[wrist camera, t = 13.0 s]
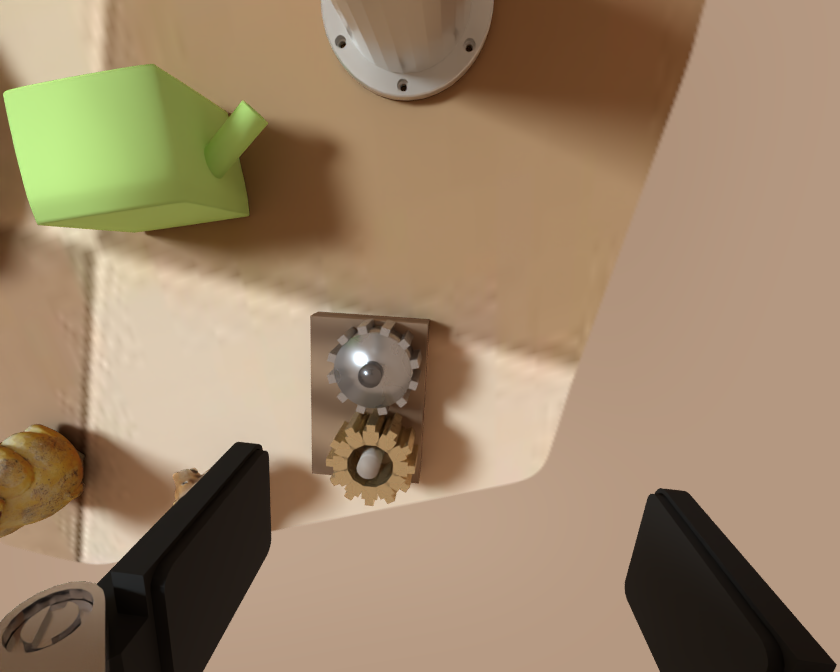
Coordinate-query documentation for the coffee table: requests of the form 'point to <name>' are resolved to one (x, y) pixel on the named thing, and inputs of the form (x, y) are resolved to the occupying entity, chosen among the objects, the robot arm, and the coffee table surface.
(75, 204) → the green square teapot
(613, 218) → the coffee table surface
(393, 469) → the brass gear
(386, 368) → the grey gear
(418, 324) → the gear board
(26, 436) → the decorative figurine
